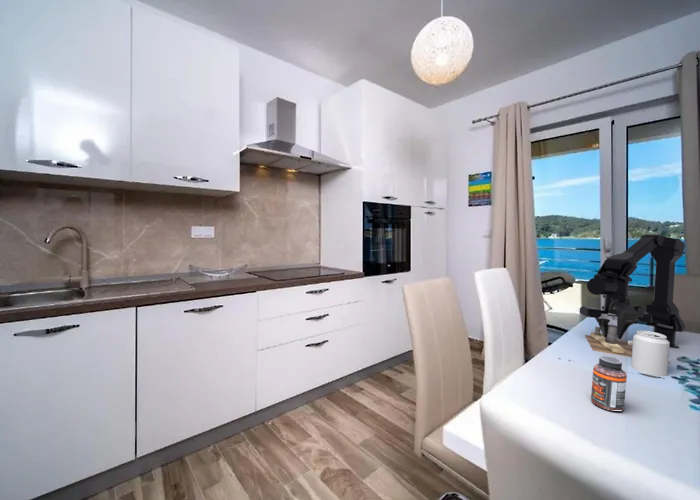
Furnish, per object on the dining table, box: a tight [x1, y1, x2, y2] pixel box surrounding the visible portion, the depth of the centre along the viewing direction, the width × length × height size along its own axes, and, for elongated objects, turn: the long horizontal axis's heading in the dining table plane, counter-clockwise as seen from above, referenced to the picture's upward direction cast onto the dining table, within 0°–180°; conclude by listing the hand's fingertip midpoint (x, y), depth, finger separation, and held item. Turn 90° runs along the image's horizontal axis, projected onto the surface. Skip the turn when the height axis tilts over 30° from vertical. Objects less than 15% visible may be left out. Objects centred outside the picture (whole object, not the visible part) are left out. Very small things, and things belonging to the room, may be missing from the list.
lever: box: [590, 324, 624, 353], centre depth 108 cm, size 18×4×8 cm, turn 161°
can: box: [630, 330, 670, 379], centre depth 88 cm, size 8×8×12 cm
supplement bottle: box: [590, 355, 628, 411], centre depth 70 cm, size 6×6×11 cm
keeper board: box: [584, 334, 672, 365], centre depth 105 cm, size 19×19×5 cm
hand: (612, 337), depth 105 cm, fingers open, 4 cm apart
